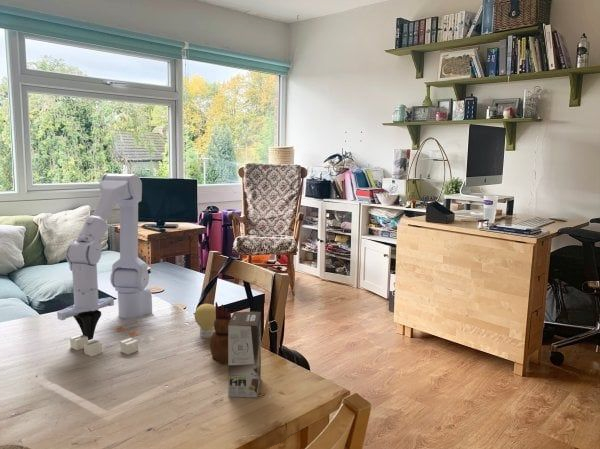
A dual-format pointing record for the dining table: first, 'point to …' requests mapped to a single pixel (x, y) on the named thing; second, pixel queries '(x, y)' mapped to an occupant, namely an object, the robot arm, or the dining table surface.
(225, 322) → the wooden figurine
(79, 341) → the slider
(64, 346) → the dining table surface
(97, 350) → the slider middle
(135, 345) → the slider
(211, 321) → the light bulb
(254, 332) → the coffee box
